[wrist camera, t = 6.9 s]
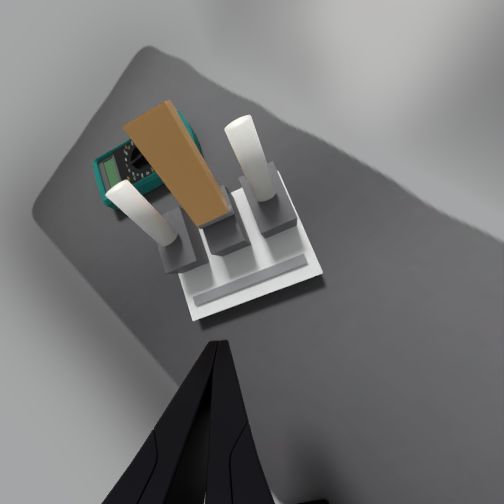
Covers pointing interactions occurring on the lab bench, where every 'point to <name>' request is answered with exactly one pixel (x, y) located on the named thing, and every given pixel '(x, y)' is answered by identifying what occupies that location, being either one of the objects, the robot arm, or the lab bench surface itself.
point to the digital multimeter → (129, 168)
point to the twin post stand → (230, 235)
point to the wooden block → (179, 163)
